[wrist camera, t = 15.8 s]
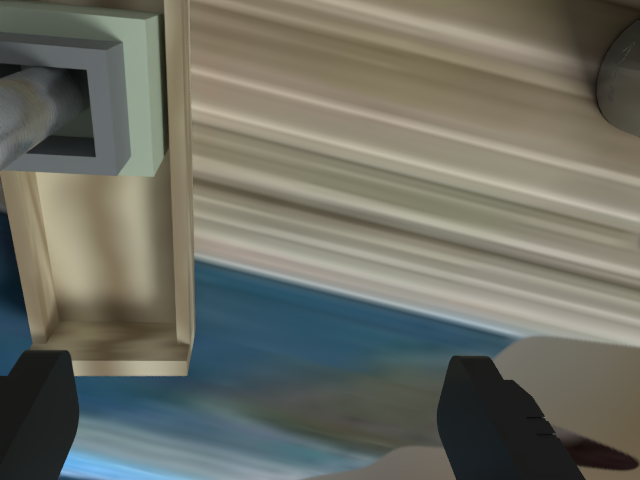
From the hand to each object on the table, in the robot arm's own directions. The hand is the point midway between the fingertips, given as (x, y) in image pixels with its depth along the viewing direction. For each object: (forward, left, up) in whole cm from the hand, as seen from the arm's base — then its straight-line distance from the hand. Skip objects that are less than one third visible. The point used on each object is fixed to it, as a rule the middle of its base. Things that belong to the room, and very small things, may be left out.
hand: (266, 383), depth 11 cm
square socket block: (+11, -1, -28) cm, 31 cm away
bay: (+11, +6, -30) cm, 32 cm away
